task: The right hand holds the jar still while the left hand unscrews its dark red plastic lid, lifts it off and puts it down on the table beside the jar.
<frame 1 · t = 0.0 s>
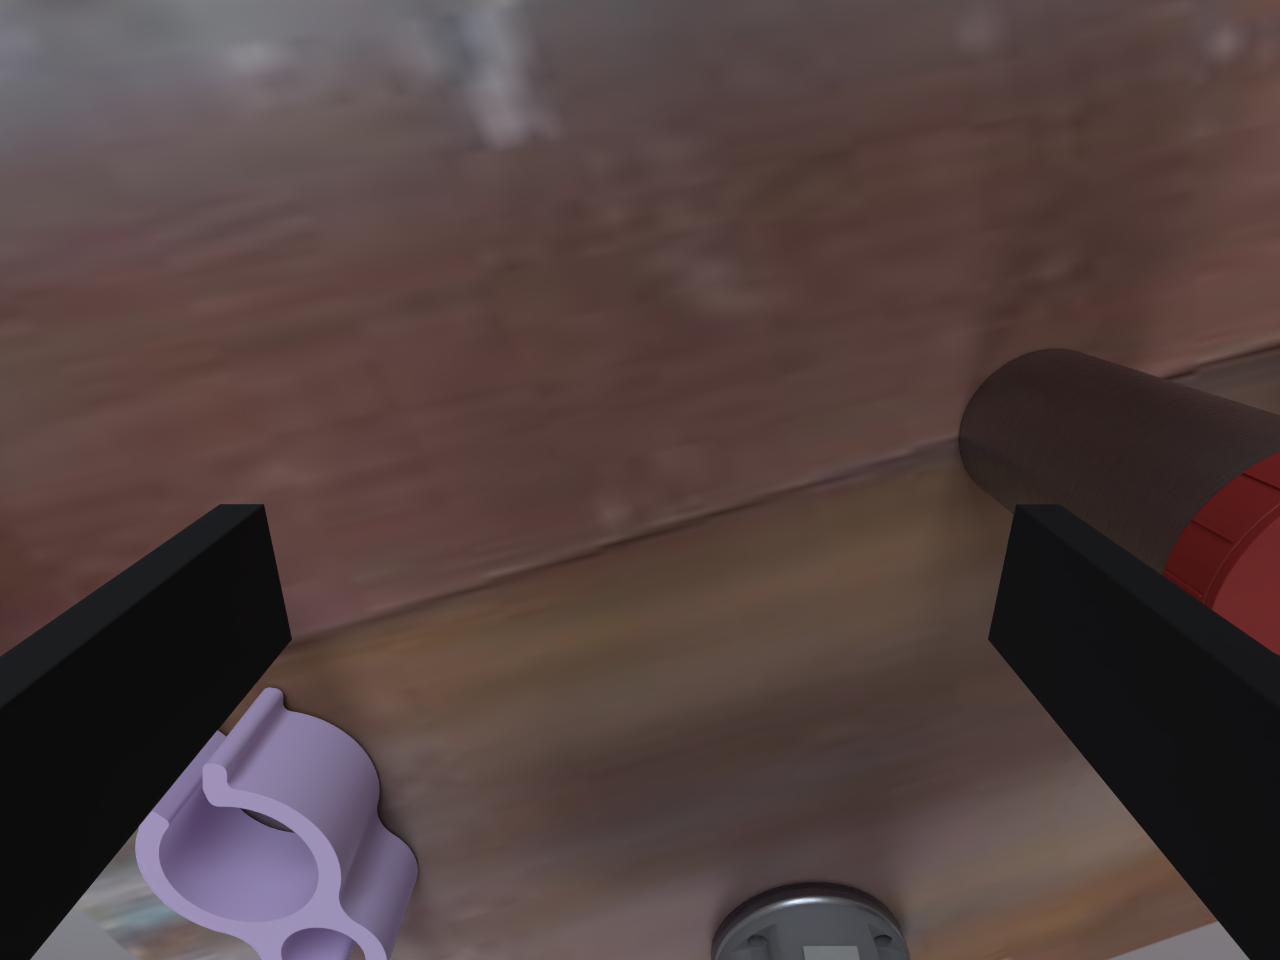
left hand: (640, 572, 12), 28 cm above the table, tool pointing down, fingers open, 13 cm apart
jar: (1039, 428, 41), on the table
clip: (314, 805, 51), on the table
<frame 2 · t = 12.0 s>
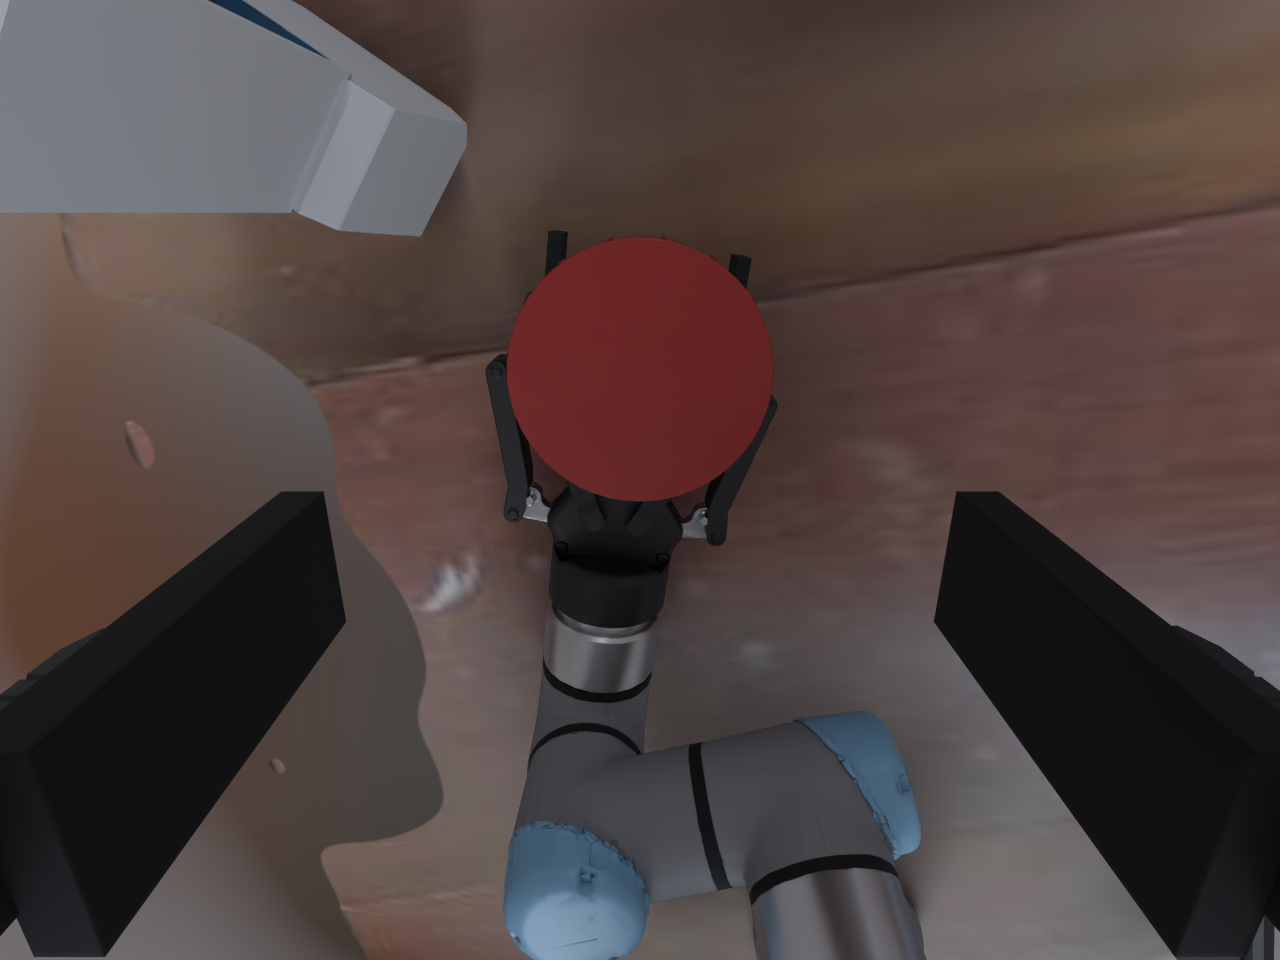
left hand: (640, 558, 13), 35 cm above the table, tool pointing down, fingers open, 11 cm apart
electronic device: (360, 124, 42), on the table
lid: (639, 376, 28), point 20 cm above the table, screwed on, not yet turned
handheld gaming console: (1165, 842, 62), on the table
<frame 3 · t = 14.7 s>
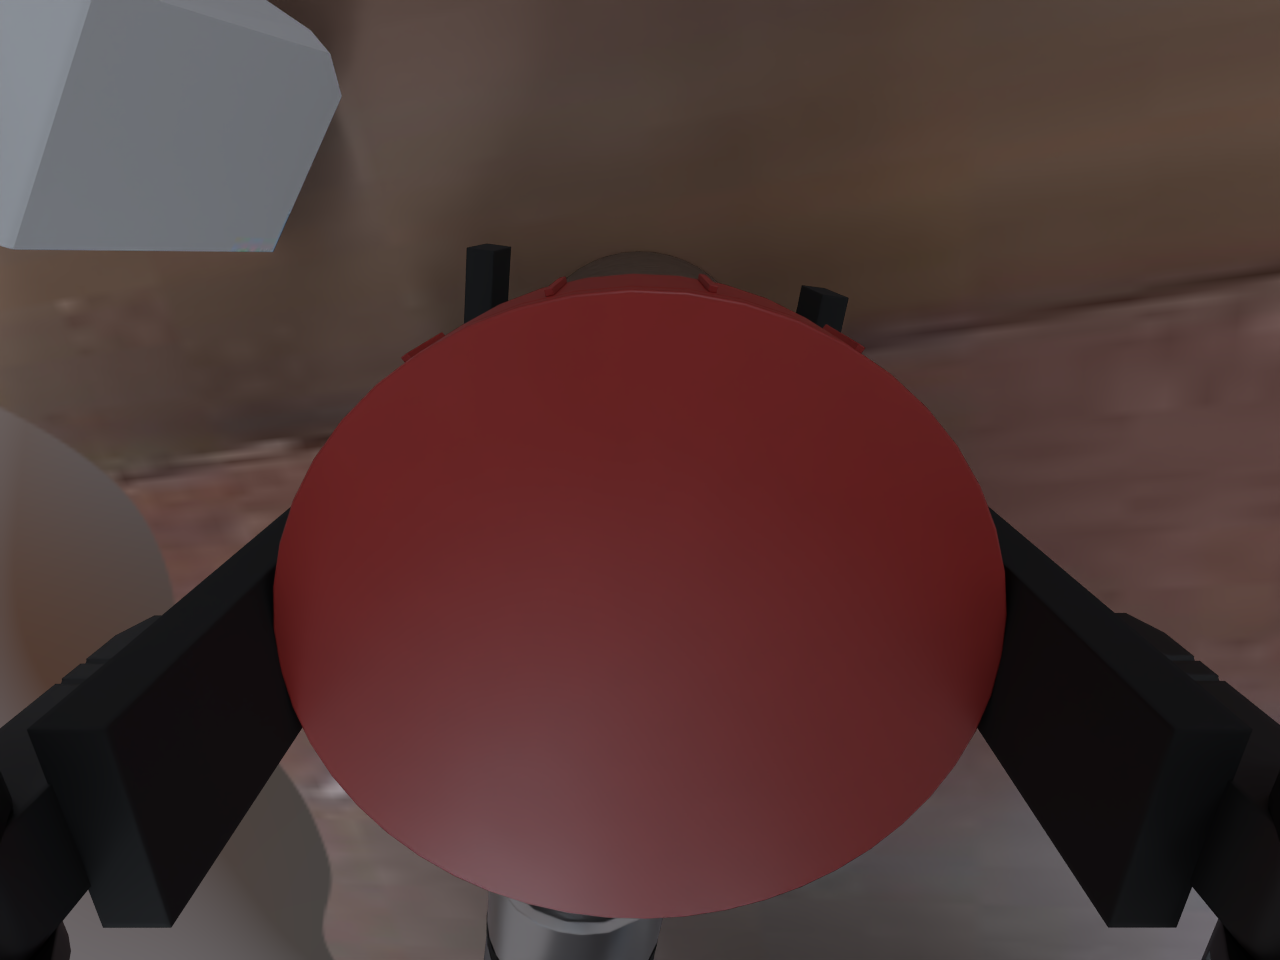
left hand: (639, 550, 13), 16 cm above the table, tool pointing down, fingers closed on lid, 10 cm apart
jar: (639, 370, 29), on the table, touching right hand
electronic device: (166, 62, 25), on the table
lid: (639, 648, 10), point 20 cm above the table, screwed on, not yet turned, touching left hand
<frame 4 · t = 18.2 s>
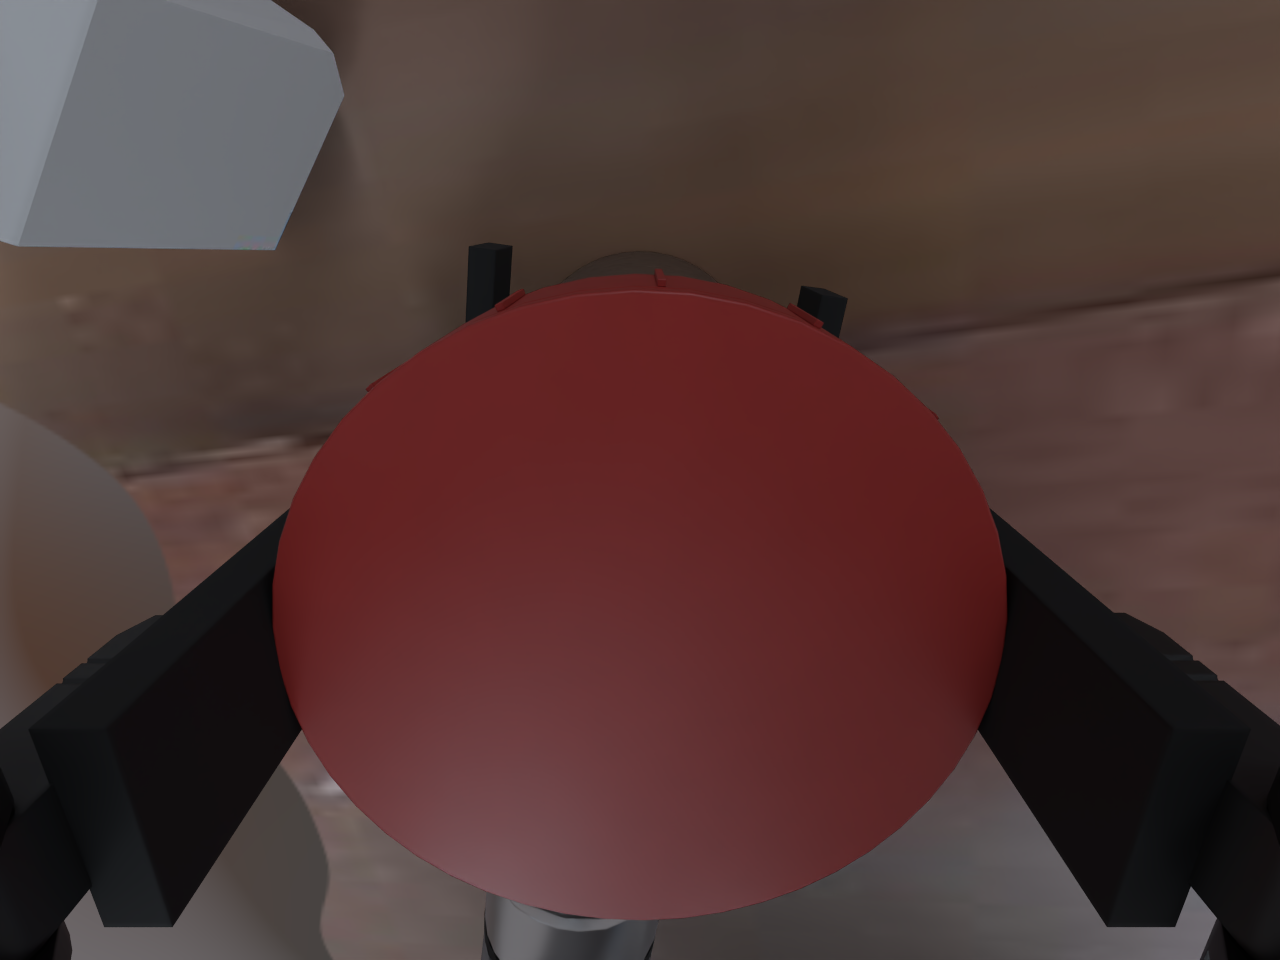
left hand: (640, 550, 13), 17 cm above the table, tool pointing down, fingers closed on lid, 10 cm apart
jar: (639, 369, 29), on the table, touching right hand
electronic device: (169, 60, 25), on the table
lid: (639, 649, 10), point 20 cm above the table, turned 97° so far, risen 0.1 cm, still on its thread, touching left hand
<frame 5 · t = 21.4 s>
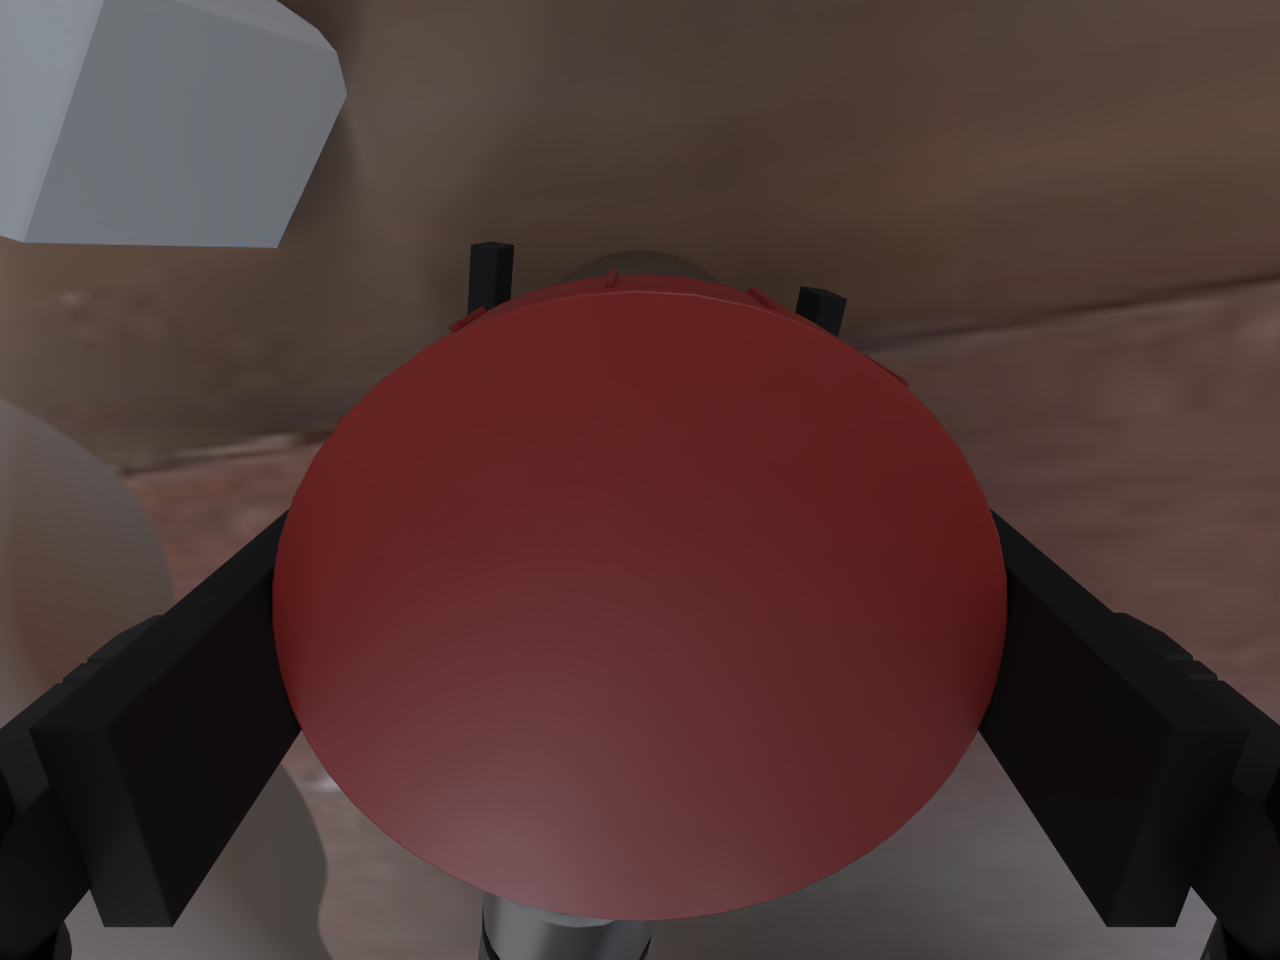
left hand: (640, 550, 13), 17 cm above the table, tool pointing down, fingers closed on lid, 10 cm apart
jar: (639, 368, 29), on the table, touching right hand
electronic device: (173, 58, 25), on the table
lid: (639, 649, 10), point 20 cm above the table, turned 195° so far, risen 0.3 cm, still on its thread, touching left hand
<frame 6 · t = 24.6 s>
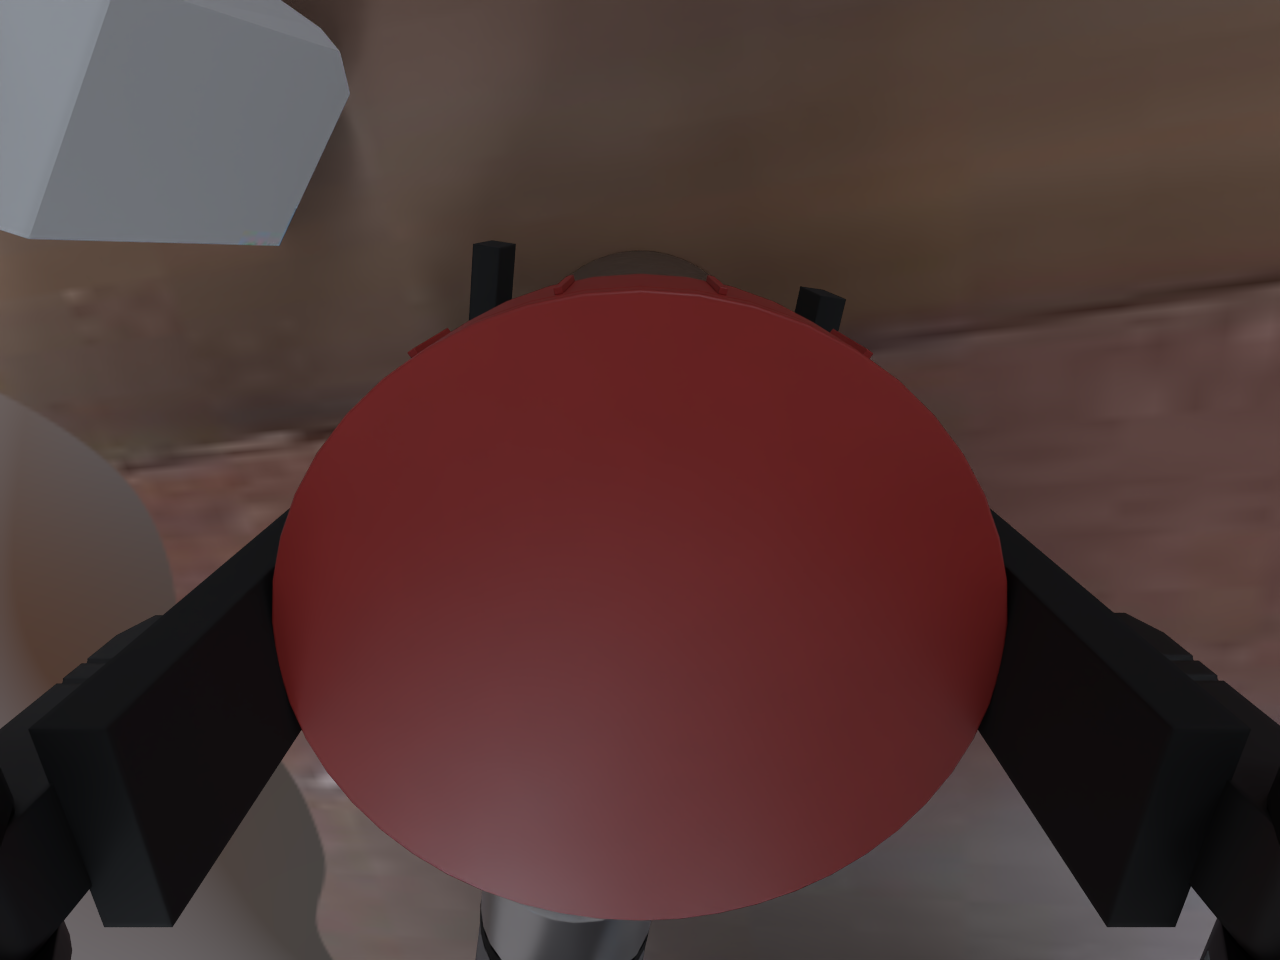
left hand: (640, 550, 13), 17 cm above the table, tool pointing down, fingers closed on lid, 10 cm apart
jar: (639, 367, 29), on the table, touching right hand
electronic device: (176, 56, 25), on the table
lid: (639, 649, 10), point 20 cm above the table, turned 292° so far, risen 0.5 cm, still on its thread, touching left hand
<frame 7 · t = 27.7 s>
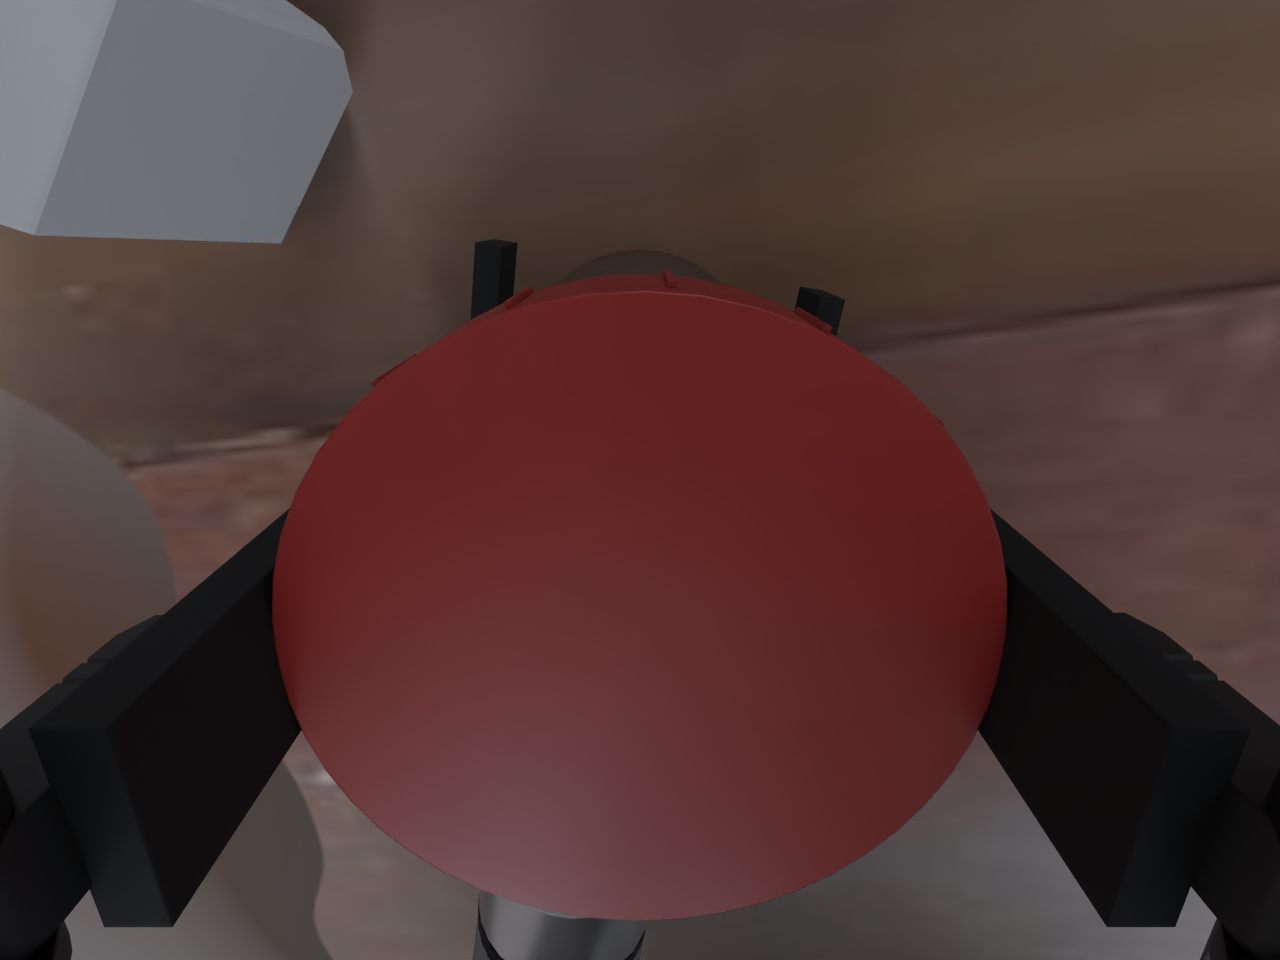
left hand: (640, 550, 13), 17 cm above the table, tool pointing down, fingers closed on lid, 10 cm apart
jar: (639, 367, 29), on the table, touching right hand
electronic device: (180, 54, 25), on the table
lid: (639, 649, 10), point 20 cm above the table, turned 389° so far, risen 0.6 cm, still on its thread, touching left hand
when the left hand's fingers open (0 cm above the table, at t = 35.4 s): lid drops 1 cm, point 2 cm above the table.
when the right hand's fingers open (7 cm above the table, at t = 36.4 s): jar stays where it is, on the table.
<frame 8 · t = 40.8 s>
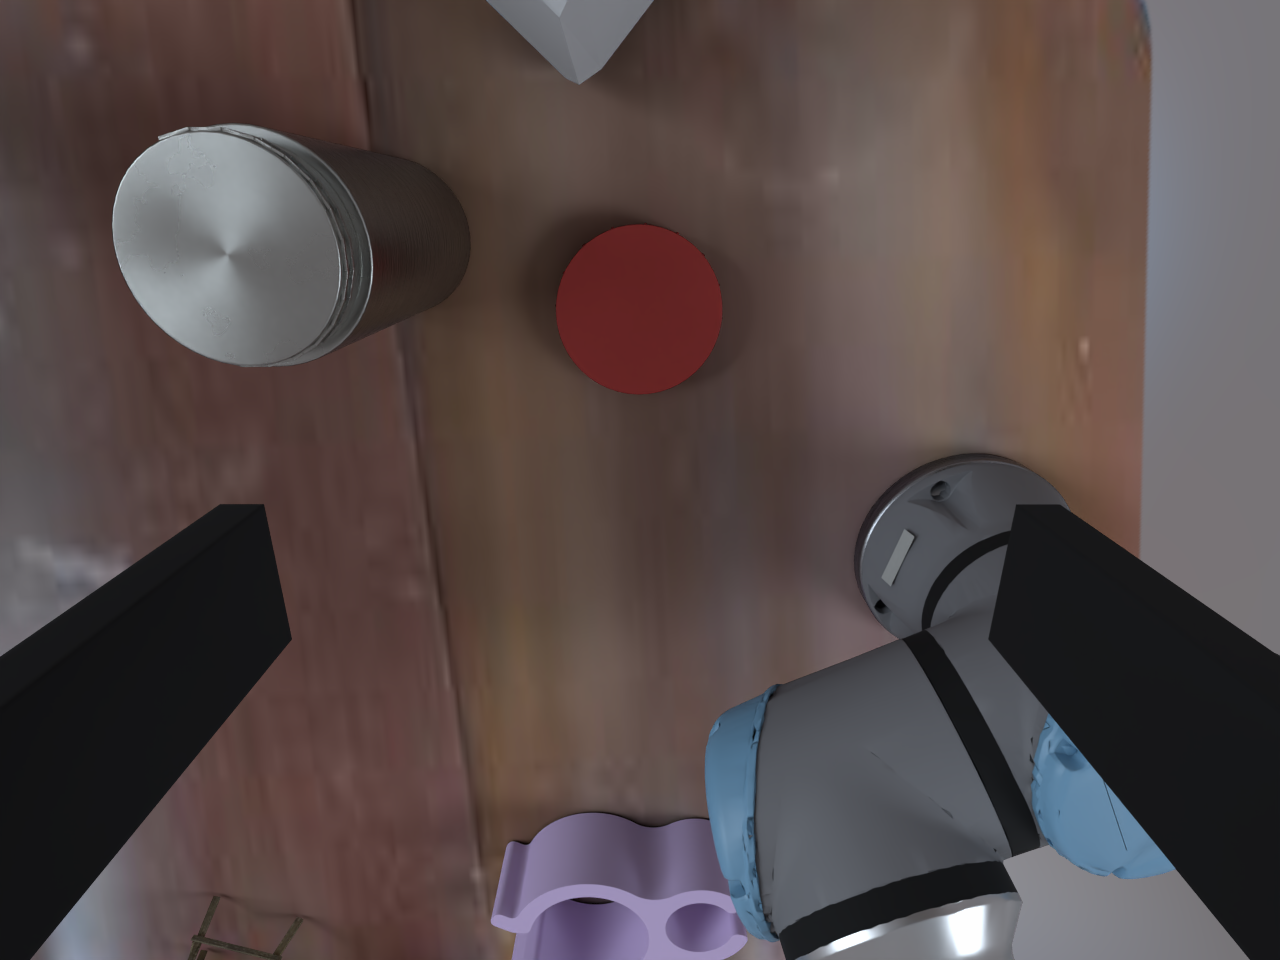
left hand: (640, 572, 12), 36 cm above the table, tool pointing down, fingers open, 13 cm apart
jar: (397, 237, 44), on the table
miniature windmill: (253, 933, 66), on the table
lid: (639, 312, 44), point 2 cm above the table, off its thread
clip: (623, 860, 63), on the table
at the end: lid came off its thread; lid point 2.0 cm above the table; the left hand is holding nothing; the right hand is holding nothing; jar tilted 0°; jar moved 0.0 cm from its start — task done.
